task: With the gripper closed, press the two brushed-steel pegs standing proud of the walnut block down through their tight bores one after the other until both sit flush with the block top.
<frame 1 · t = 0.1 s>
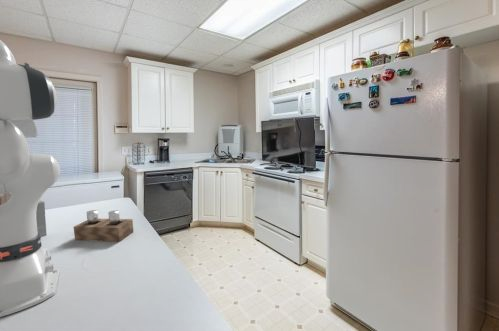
hand: (1, 151, 87), 39 cm above the worktop, tool pointing down, fingers open, 8 cm apart
steel peg 2: (114, 218, 108), point 8 cm above the worktop, slide at 5.0 cm
walnut block: (105, 236, 110), on the worktop
steel peg 1: (92, 217, 109), point 8 cm above the worktop, slide at 5.0 cm
skincare box: (35, 236, 111), on the worktop
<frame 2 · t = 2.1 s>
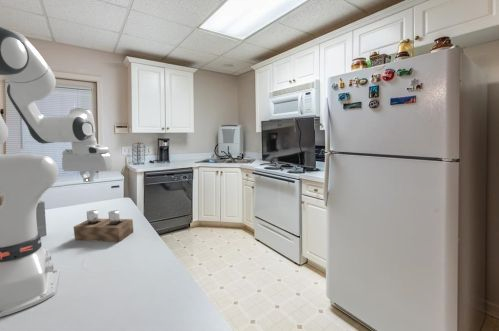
hand: (88, 181, 107), 24 cm above the worktop, tool pointing down, fingers closed
nothing on the worktop moved.
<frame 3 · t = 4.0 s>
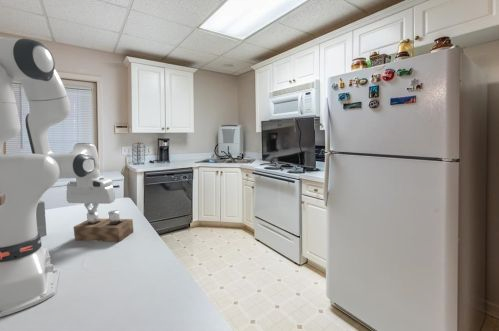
hand: (92, 212, 109), 10 cm above the worktop, tool pointing down, fingers closed, pressing on steel peg 1
steel peg 1: (92, 219, 109), point 8 cm above the worktop, slide at 4.3 cm, touching gripper
everything else where it was.
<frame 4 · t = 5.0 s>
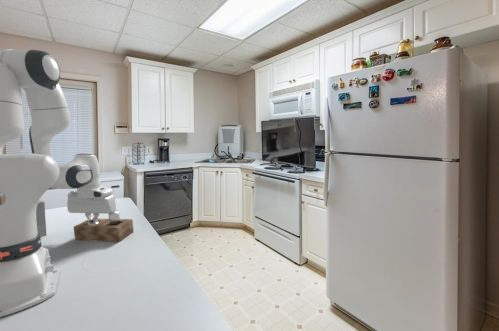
hand: (93, 222, 109), 6 cm above the worktop, tool pointing down, fingers closed, pressing on steel peg 1
steel peg 1: (93, 228, 110), point 3 cm above the worktop, slide at 0.0 cm, touching gripper
everything else where it was.
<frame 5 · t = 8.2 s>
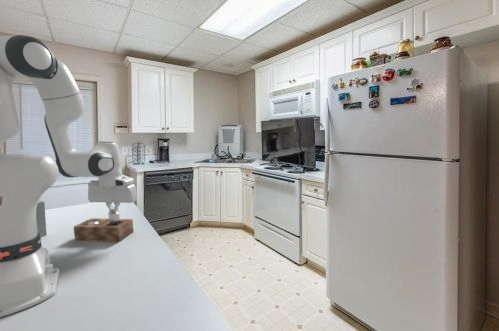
hand: (114, 212, 108), 11 cm above the worktop, tool pointing down, fingers closed, pressing on steel peg 2
steel peg 2: (114, 218, 108), point 8 cm above the worktop, slide at 4.8 cm, touching gripper
steel peg 1: (93, 228, 110), point 3 cm above the worktop, slide at 0.0 cm
everything else where it was.
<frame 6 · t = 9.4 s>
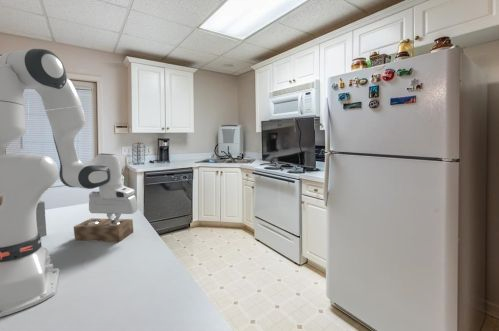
hand: (114, 223, 108), 6 cm above the worktop, tool pointing down, fingers closed, pressing on steel peg 2
steel peg 2: (115, 229, 109), point 3 cm above the worktop, slide at 0.0 cm, touching gripper
everything else where it was.
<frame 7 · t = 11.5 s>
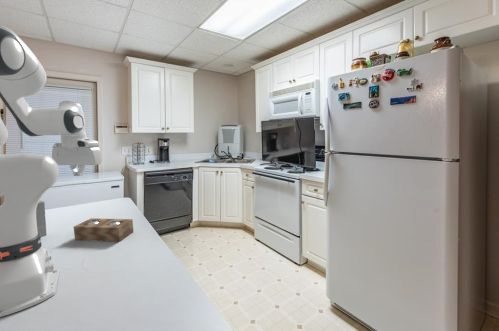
hand: (78, 175, 106), 27 cm above the worktop, tool pointing down, fingers closed
steel peg 2: (115, 229, 109), point 3 cm above the worktop, slide at 0.0 cm
everything else where it was.
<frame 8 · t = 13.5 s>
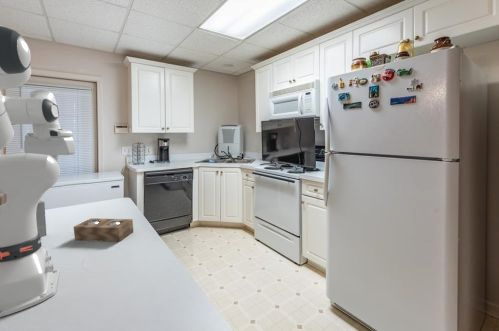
hand: (51, 166, 105), 31 cm above the worktop, tool pointing down, fingers closed
nothing on the worktop moved.
at the end: steel peg 1 slide at 0.0 cm; steel peg 2 slide at 0.0 cm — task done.
